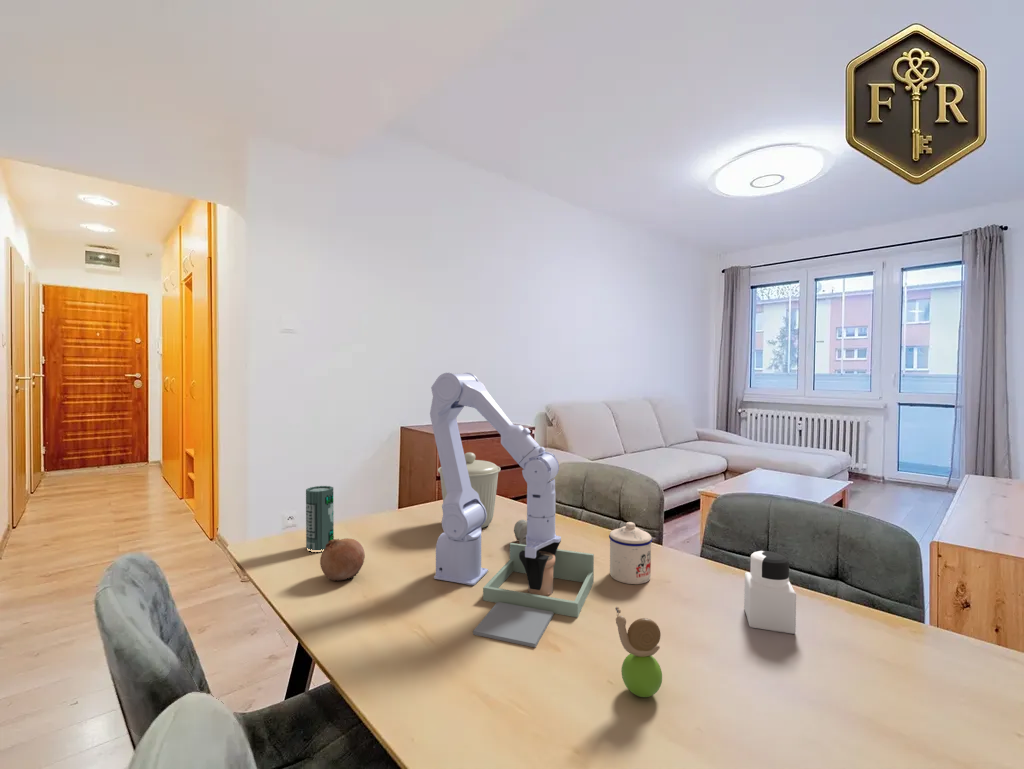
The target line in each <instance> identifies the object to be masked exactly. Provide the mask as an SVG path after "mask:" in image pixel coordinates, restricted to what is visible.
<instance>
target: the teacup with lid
mask: <svg viewBox="0 0 1024 769" xmlns="http://www.w3.org/2000/svg"><path fill="white" fill-rule="evenodd" d="M608 537H609V574H610V576H611V578H613V579H614V580H616V581H617V582H620V583H623V584H627V585H642V584H646V583H647V582H649V581H650V580H651V576H652V573H651V571H652V570H651V569H652V568H651V567H652V560H651V559H652V542H653V538H652V535H651V534H650V533H649V532H648V531H645V530H643V529H640V528H639V527H636V524H635V522H634V521H633V522H632V521H628V522H626V523H625V525H624V526H621V527H619V528H615V529H613V530H611V531H610V533H609V534H608Z"/></svg>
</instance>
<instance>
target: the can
mask: <svg viewBox="0 0 1024 769" xmlns="http://www.w3.org/2000/svg"><path fill="white" fill-rule="evenodd" d="M334 513H335V511H334V486H330V485H317V486H316V485H315V486H310V487H307V488H306V489H305V535H306V536H305V538H306V540H305V543H306V544H305V546H306V548H308V549H310V550H311V549H312V550H321V549H322V550H323V549H325V548H326V547H324V546H326V544H328V543H329V541H331V540H334V538H335V537H334V535H335V534H334V533H335V532H334V531H335V530H334V528H335V527H334V525H335V524H334V522H335V521H334V520H335V519H334V517H335V516H334ZM327 542H328V543H327ZM306 548H305V549H306Z"/></svg>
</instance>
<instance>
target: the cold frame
mask: <svg viewBox="0 0 1024 769" xmlns="http://www.w3.org/2000/svg"><path fill="white" fill-rule="evenodd" d="M525 547H526V545H523V544H520V543H513V542H510V543H509V560H508V561H507V562H506V563H505V564H504V565H503V566H502V567H501V568H499V570H498V571H497V573H495V574H494V576H492V577H491V579H489V581H488V582H487V583H486V584H485V585H484V586H483V587H482V601H484V602H490V603H495V604H496V603H497V602H502V603H507V604H513V605H518V606H524V607H529V608H535V609H540V610H546V611H551V612H554V614H555V615H561V616H566V617H567V616H568V617H571V618H577V619H578V617H579V616H580V613H581V611H582V610H583V606H584V604H585V602H586V599H587V598H588V595H589V593H590V591H591V589H592V586H593V585H594V578H595V577H594V576H595V575H594V574H595V573H594V571H595V569H594V568H595V560H594V558H595V554H594V553H590V552H581V551H576V550H575V551H573V550H567V549H558V548H557V551H556V554H555V565H554V566H553V579H561V580H565V581H566V580H567V581H573V582H579V583H582V585H581V587H580V588H579V591H578V593H577V595H576V597H575V599H574V600H572V599H571V600H570V599H564V598H557V597H552V596H541V595H535V594H530V593H529V592H524V591H523V592H522V591H517V590H511V589H505V588H501V586H502V584H504V582H506V580H507V579H508V578H509V577H510V575H512V574H513V572H515V573H521V574H522V573H523V574H526V571H525V568H524V566H523V564H522V562H521V560H520V558H519V553H520V552H521V551H522V550H523V551H525Z"/></svg>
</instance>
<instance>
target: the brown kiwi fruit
mask: <svg viewBox="0 0 1024 769" xmlns="http://www.w3.org/2000/svg"><path fill="white" fill-rule="evenodd" d="M327 543H328V542H327ZM324 547H326V548H325V549H324V551H323V552H321V554H320V559H319V560H320V562H319V564H320V569H321V571H322V573H323V574H324V576H325V577H326V578H327V579H329V580H331V581H334V582H336V581H335V580H337V581H344V580H350V578H351V579H353V578H354V577H357V575H358V573H359V572H360V571H361V569H362V567H363V565H364V562H365V558H366V555H365V554H366V553H365V549H364V547H363V545H362V544H361V543H360V542H359V541H357V539H355V538H347V537H346V538H341V539H339V538H336V539H334V540H331V541H329V543H328V544H326V546H324ZM347 578H348V579H347Z"/></svg>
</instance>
